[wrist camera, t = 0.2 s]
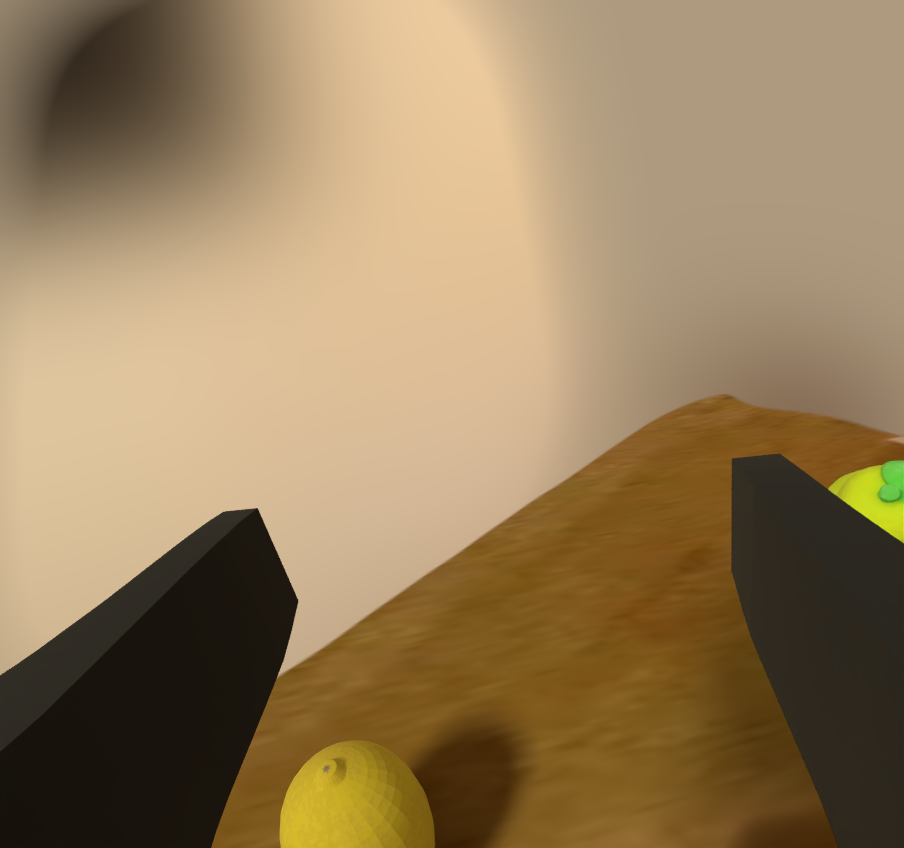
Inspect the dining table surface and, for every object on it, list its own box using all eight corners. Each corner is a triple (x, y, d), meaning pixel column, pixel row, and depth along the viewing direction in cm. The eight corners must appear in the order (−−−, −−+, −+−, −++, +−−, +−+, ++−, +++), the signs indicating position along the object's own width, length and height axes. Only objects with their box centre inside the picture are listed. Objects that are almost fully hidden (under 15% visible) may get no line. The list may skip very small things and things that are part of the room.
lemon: (305, 873, 27) (234, 755, 24) (418, 796, 29) (368, 675, 25) (349, 1012, 23) (270, 891, 19) (480, 910, 24) (430, 781, 21)
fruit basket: (1007, 586, 32) (1051, 383, 27) (1049, 740, 25) (1118, 510, 20) (754, 554, 37) (751, 382, 32) (735, 672, 31) (728, 480, 26)
